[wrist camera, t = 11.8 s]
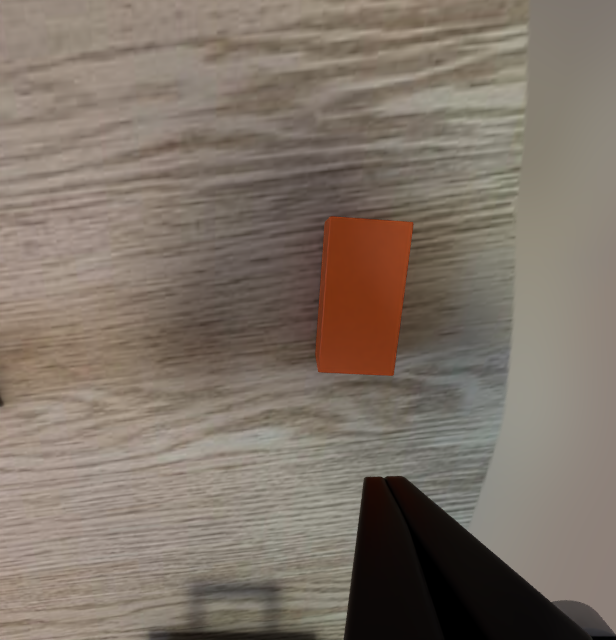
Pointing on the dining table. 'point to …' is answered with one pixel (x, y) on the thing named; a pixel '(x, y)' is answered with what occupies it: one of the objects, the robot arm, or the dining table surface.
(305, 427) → the dining table surface
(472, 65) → the dining table surface
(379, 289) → the orange rectangular block
